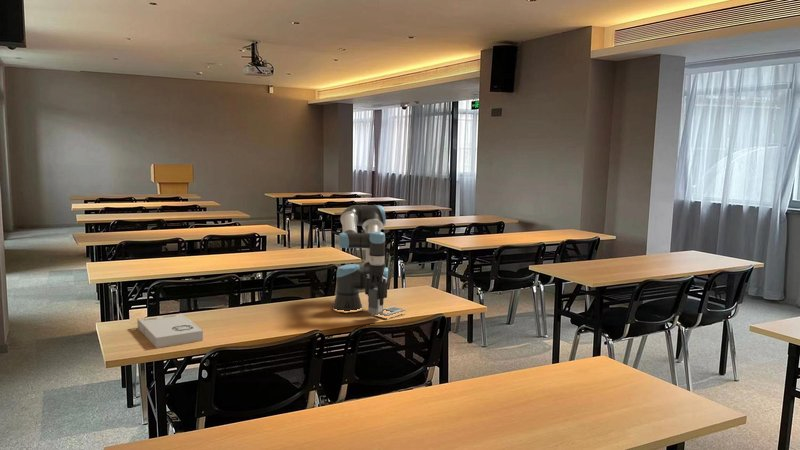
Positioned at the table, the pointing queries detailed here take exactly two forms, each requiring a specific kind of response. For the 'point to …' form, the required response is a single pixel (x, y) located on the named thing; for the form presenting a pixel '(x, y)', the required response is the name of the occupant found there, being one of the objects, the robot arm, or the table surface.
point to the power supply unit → (170, 330)
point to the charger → (373, 301)
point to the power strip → (392, 310)
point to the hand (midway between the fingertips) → (375, 310)
